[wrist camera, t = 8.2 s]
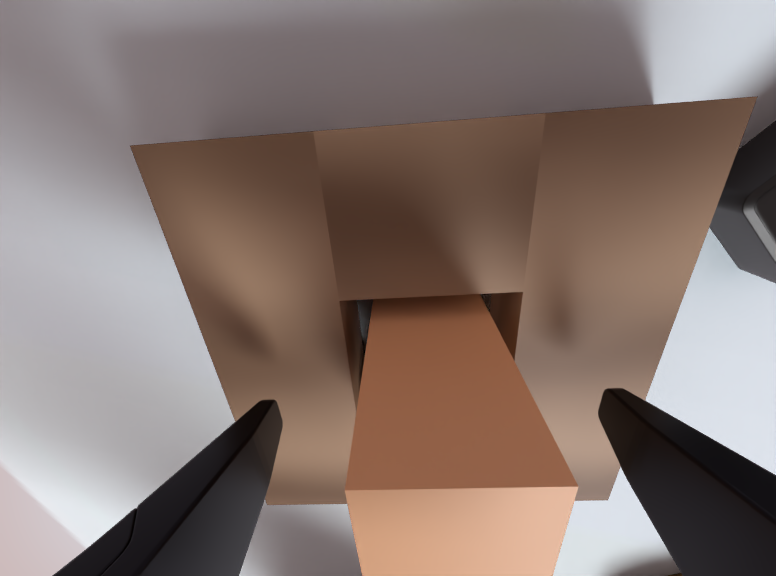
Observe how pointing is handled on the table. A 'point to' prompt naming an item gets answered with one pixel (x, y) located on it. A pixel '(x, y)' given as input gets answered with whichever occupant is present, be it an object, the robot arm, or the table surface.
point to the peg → (451, 449)
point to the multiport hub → (750, 207)
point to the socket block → (443, 258)
